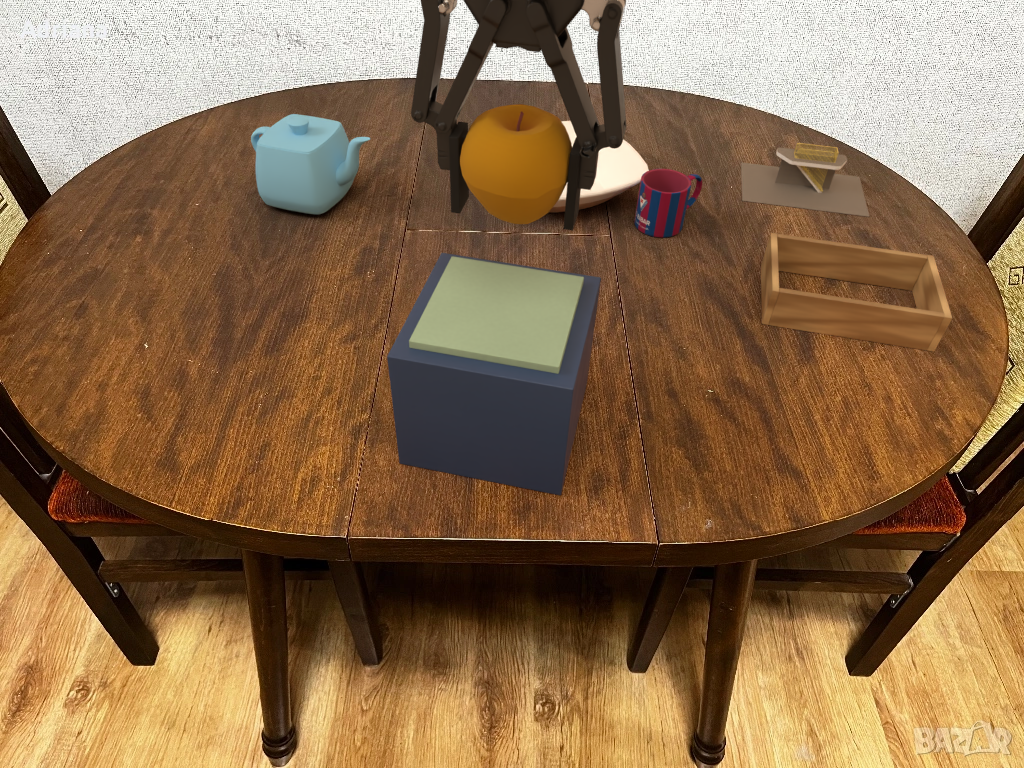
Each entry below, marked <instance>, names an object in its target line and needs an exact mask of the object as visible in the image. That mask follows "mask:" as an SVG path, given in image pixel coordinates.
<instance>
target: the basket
mask: <svg viewBox="0 0 1024 768" xmlns="http://www.w3.org/2000/svg"><path fill="white" fill-rule="evenodd" d="M760 263H761V264H760V283H761V284H760V290H761V291H760V294H761V295H760V296H761V301H760V303H761V325H765V326H771V327H778V328H785V329H790V330H796V331H802V332H803V331H804V332H808V333H815V334H822V335H826V336H827V335H828V336H835V337H841V338H847V339H852V340H859V341H866V342H872V343H877V344H885V345H891V346H897V347H903V348H909V349H914V350H922V351H927V352H935V351H936V350H937V347H938V346H939V344H940V342H941V340H942V339H943V337H944V335H945V332H946V331H947V329H948V327H949V325H950V323H951V322H952V320H953V316H952V311H951V308H950V306H949V302H948V299H947V295H946V293H945V289H944V286H943V282H942V279H941V276H940V273H939V269H938V266H937V263H936V258H935V256H934V255H931V254H923V253H916V252H909V251H902V250H895V249H887V248H880V247H874V246H869V245H868V246H866V245H860V244H855V243H854V244H853V243H847V242H839V241H832V240H825V239H820V238H819V239H818V238H811V237H805V236H799V235H798V236H797V235H796V236H795V235H790V234H782V233H777V232H770V235H769V238H768V241H767V244H766V247H765V250H764V253H763V257H762V260H761V262H760ZM779 272H785V273H791V274H797V275H804V276H810V277H816V278H817V277H819V278H825V279H829V280H830V279H831V280H837V281H843V282H849V283H850V282H851V283H857V284H863V285H869V286H870V285H871V286H878V287H883V288H890V289H897V290H903V291H911V292H912V296H913V300H914V305H915V307H908V306H902V305H895V304H887V303H881V302H875V301H869V300H861V299H855V298H849V297H842V296H835V295H829V294H823V293H816V292H809V291H802V290H798V289H797V290H796V289H790V288H783V287H780V273H779Z"/></svg>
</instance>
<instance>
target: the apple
mask: <svg viewBox="0 0 1024 768" xmlns="http://www.w3.org/2000/svg"><path fill="white" fill-rule="evenodd" d="M561 121H562V120H561V119H560V118H559V117H558V116H557V115H555V114H553V113H551V112H549V111H546V110H544V109H542V108H540V107H537V106H533V105H529V104H522V103H519V104H507V105H506V104H505V105H501V106H500V105H499V106H497V107H493V108H490V109H488V110H485V111H483V112H482V113H480V114H479V115H478V116H477V117H475V119H474V120H473V122H471V124H470V125H469V127H468V133H467V136H466V138H465V140H464V142H463V144H462V149H461V155H460V166H461V171H462V176H463V178H464V180H465V182H466V184H467V186H468V188H469V192H471V194H472V195H473V196H474V197H475V198H476V199H477V201H478V202H479V203H480V204H481V206H482V207H483V208H484V209H485V210H486V211H487V213H488V214H490V215H491V216H493V217H494V218H496V219H498V220H501V221H502V222H506V223H509V224H512V225H529V224H531V223H534V222H536V221H538V220H540V219H541V218H543V217H544V216H546V215H547V214H549V213H550V212H549V211H550V210H551V209H552V208H553V206H554V205H555V204H556V203H557V201H558V200H559V199H560V196H561V194H562V192H563V190H564V188H565V186H566V184H567V181H568V170H569V158H570V152H571V149H572V143H571V140H570V138H569V135H568V133H567V130H566V128H565V126H564V125H563V123H562V122H561Z"/></svg>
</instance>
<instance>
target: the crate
mask: <svg viewBox="0 0 1024 768" xmlns="http://www.w3.org/2000/svg"><path fill="white" fill-rule="evenodd" d="M451 257H459V258H465V259H472V260H478V261H484V262H491V263H497V264H504V265H510V266H516V267H523V268H529V269H536V270H542V271H548V272H555V273H561V274H567V275H574V276H580V277H584V282H583V287H582V290H581V294H580V298H579V301H578V305H577V309H576V312H575V316H574V320H573V323H572V327H571V331H570V334H569V338H568V342H567V345H566V349H565V353H564V356H563V360H562V364H561V367H560V371H559V374H556V373H551V372H545V371H539V370H534V369H528V368H522V367H517V366H511V365H505V364H499V363H494V362H488V361H482V360H477V359H471V358H465V357H460V356H454V355H448V354H443V353H437V352H431V351H425V350H420V349H414V348H410V347H409V340H410V338H411V336H412V334H413V332H414V330H415V328H416V326H417V324H418V322H419V320H420V318H421V316H422V314H423V312H424V310H425V308H426V306H427V304H428V302H429V300H430V298H431V296H432V294H433V292H434V290H435V288H436V286H437V284H438V282H439V281H440V279H441V277H442V275H443V273H444V271H445V269H446V267H447V265H448V263H449V261H450V259H451ZM601 281H602V277H600V276H594V275H588V274H583V273H574V272H569V271H562V270H555V269H550V268H545V267H544V268H543V267H537V266H532V265H531V266H529V265H523V264H518V263H511V262H504V261H497V260H492V259H485V258H480V257H472V256H466V255H461V254H454V253H447V252H441V253H440V255H439V256H438V258H437V261H436V262H435V264H434V266H433V268H432V270H431V272H430V273H429V276H428V278H427V280H426V282H425V283H424V285H423V287H422V289H421V290H420V293H419V295H418V297H417V298H416V300H415V303H414V304H413V305H412V308H411V310H410V312H409V314H408V315H407V317H406V319H405V321H404V323H403V325H402V327H401V329H400V331H399V332H398V335H397V336H396V339H395V341H394V342H393V345H392V346H391V348H390V350H389V352H388V354H387V356H386V360H387V368H388V376H389V386H390V394H391V401H392V403H391V404H392V411H393V419H394V420H393V421H394V428H395V437H396V445H397V454H398V463H399V464H400V465H405V466H410V467H416V468H421V469H425V470H431V471H436V472H439V473H444V474H445V473H446V474H451V475H456V476H460V477H466V478H471V479H476V480H479V481H480V480H481V481H486V482H492V483H495V484H501V485H506V486H512V487H516V488H522V489H526V490H531V491H536V492H541V493H546V494H552V495H556V496H562V494H563V489H564V485H565V482H566V481H565V480H566V476H567V471H568V467H569V463H570V460H571V454H572V451H573V446H574V442H575V437H576V433H577V428H578V424H579V419H580V414H581V410H582V406H583V403H584V398H585V394H586V389H587V385H588V380H589V371H590V364H591V356H592V351H593V350H592V349H593V341H594V334H595V327H596V319H597V312H598V306H599V305H598V303H599V298H600V297H599V296H600V289H601Z"/></svg>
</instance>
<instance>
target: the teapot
mask: <svg viewBox="0 0 1024 768" xmlns="http://www.w3.org/2000/svg"><path fill="white" fill-rule="evenodd" d="M348 137H349V136H348V135H347V133H346V129H345V127H344V126H343V124H342V122H340V121H337V120H333V119H328V118H324V117H318V116H312V115H307V114H306V115H304V114H298V113H292V114H288V115H286V116H285V117H283V118H281V119H280V120H278V121H277V122H275V123H274V124H272V125H271V126H266V125H265V126H260V127H257V128H256V129H255V130H254V131H253V132H252V134H251V136H250V142H251V145H252V148H253V150H254V151H255V180H256V187H257V191H258V194H259V196H260V198H261V199H262V201H263V202H264V204H265V205H266V206H270V207H272V208H278V209H280V210H287V211H290V212H297V213H303V214H309V215H321V214H325V213H326V212H328V211H330V210H331V209H332V208H333V207H335V206H336V205H337V204H338V203H339V202H340V201H341V200H342V199H343V198H344V197H345V196H346V195H347V193H348V192H349V190H350V189H351V187H352V185H353V184H354V181H355V179H356V178H355V177H356V176H357V173H358V172H359V167H360V150H361V147H362V146H363V144H365V143H366V142H369V141H370V140H371V139H372V138H371V137H368V136H357V137H354V138H353V139H351V140H349V138H348Z"/></svg>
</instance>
